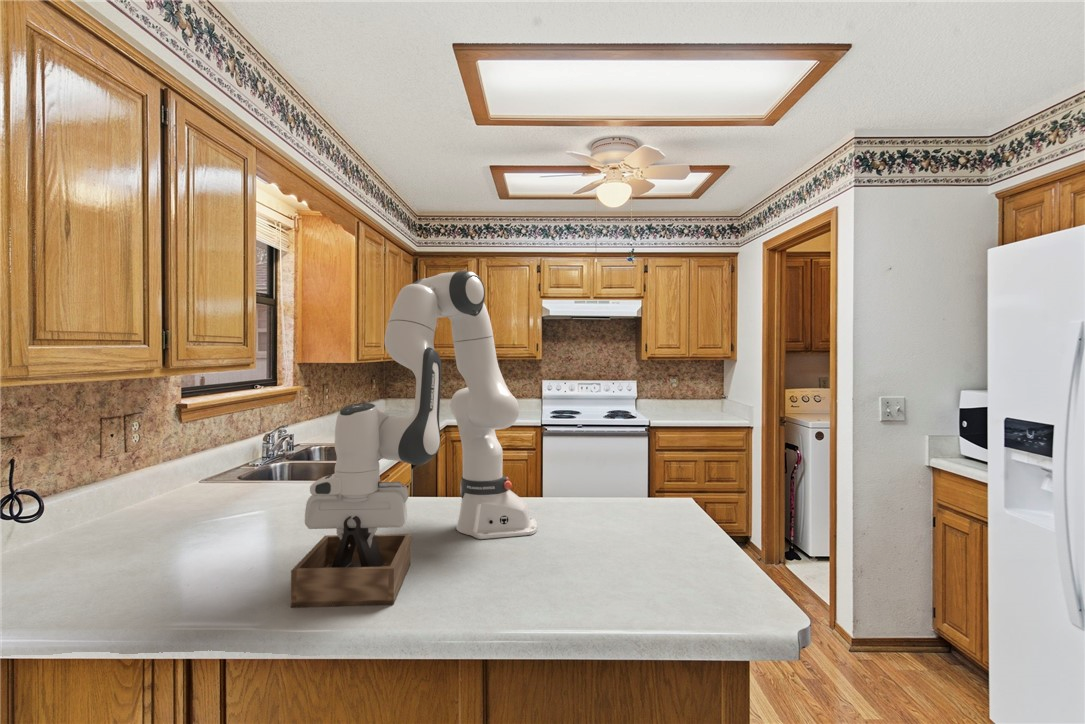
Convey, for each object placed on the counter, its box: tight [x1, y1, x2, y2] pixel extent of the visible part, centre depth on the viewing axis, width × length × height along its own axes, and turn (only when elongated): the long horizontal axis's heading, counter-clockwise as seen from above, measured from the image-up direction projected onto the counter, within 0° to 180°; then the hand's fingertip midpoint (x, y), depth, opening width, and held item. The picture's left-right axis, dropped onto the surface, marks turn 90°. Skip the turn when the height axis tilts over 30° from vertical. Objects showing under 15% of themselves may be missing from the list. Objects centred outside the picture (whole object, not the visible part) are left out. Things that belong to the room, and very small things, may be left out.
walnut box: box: [290, 533, 412, 608], centre depth 108 cm, size 19×19×7 cm
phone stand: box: [332, 516, 384, 568], centre depth 108 cm, size 9×6×12 cm, turn 84°
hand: (357, 548), depth 108 cm, fingers closed on phone stand, 3 cm apart
